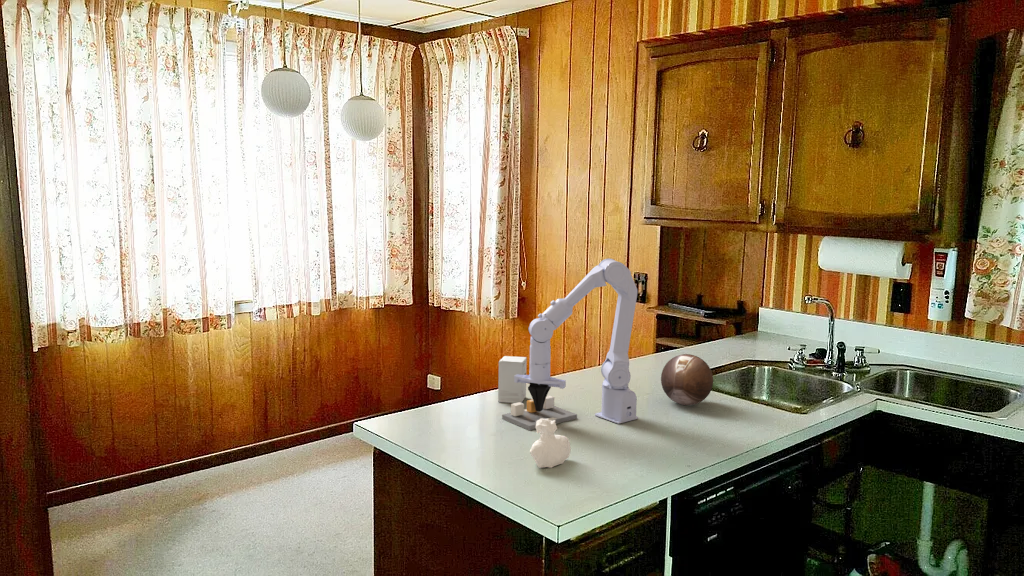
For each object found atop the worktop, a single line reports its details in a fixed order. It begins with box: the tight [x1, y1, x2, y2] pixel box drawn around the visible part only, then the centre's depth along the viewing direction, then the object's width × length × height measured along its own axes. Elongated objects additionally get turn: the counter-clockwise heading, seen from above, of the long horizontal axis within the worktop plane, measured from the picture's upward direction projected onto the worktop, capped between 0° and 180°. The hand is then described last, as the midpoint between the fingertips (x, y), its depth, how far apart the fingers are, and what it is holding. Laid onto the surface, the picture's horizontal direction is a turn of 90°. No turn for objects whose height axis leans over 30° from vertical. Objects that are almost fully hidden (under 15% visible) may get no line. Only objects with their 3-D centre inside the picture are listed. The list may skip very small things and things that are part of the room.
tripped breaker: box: [526, 398, 537, 413], centre depth 204 cm, size 2×3×3 cm, turn 128°
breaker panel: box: [501, 395, 578, 431], centre depth 201 cm, size 12×17×4 cm
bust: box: [529, 418, 572, 469], centre depth 169 cm, size 12×8×11 cm
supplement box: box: [497, 355, 528, 404], centre depth 219 cm, size 7×7×13 cm
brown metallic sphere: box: [660, 353, 714, 406], centre depth 215 cm, size 15×15×15 cm
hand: (539, 410), depth 201 cm, fingers closed
